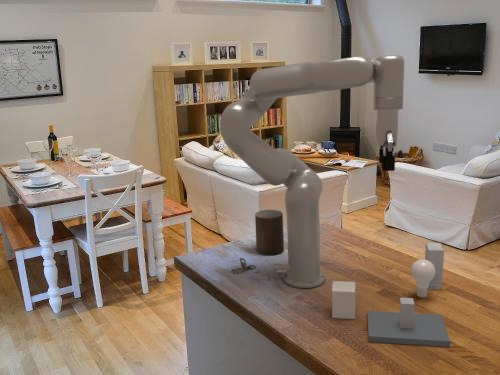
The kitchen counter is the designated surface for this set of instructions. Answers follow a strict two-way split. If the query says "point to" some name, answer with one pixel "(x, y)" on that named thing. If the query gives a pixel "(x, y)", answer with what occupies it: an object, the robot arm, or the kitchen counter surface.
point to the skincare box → (435, 263)
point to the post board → (407, 336)
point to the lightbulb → (422, 275)
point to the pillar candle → (269, 232)
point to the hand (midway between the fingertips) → (386, 166)
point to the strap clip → (244, 267)
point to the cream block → (343, 300)
